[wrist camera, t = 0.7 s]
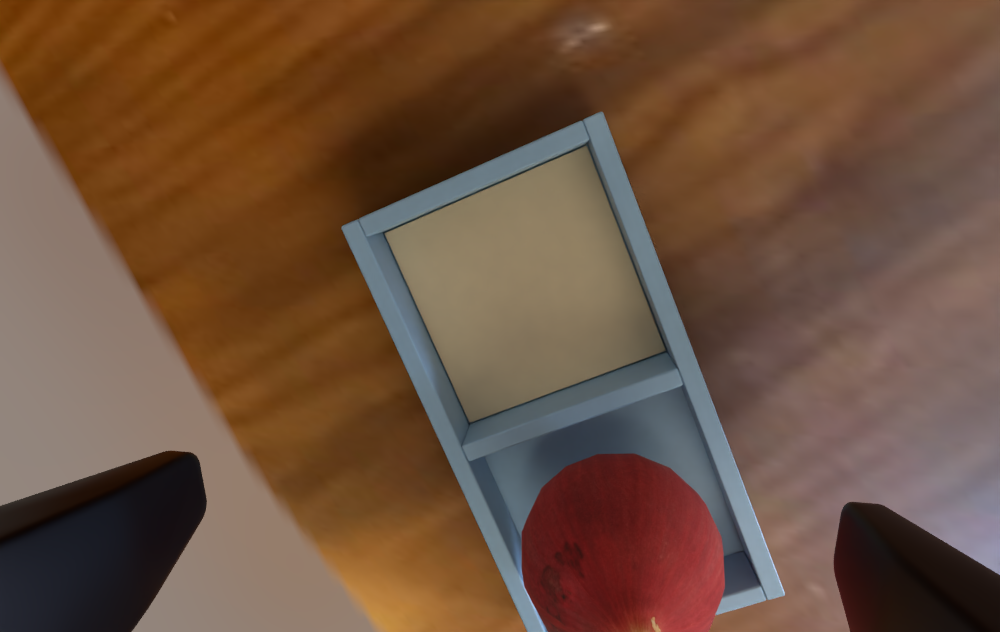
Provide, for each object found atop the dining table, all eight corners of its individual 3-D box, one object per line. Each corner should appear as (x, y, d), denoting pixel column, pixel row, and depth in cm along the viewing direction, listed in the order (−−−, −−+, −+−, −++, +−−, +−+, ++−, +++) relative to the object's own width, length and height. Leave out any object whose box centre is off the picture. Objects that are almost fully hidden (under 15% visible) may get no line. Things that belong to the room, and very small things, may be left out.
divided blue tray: (544, 617, 24) (542, 666, 22) (364, 220, 22) (339, 226, 19) (762, 550, 23) (785, 596, 20) (597, 118, 20) (602, 110, 18)
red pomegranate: (570, 589, 23) (574, 796, 16) (499, 456, 22) (466, 604, 15) (721, 531, 22) (807, 722, 15) (653, 389, 21) (705, 511, 14)
